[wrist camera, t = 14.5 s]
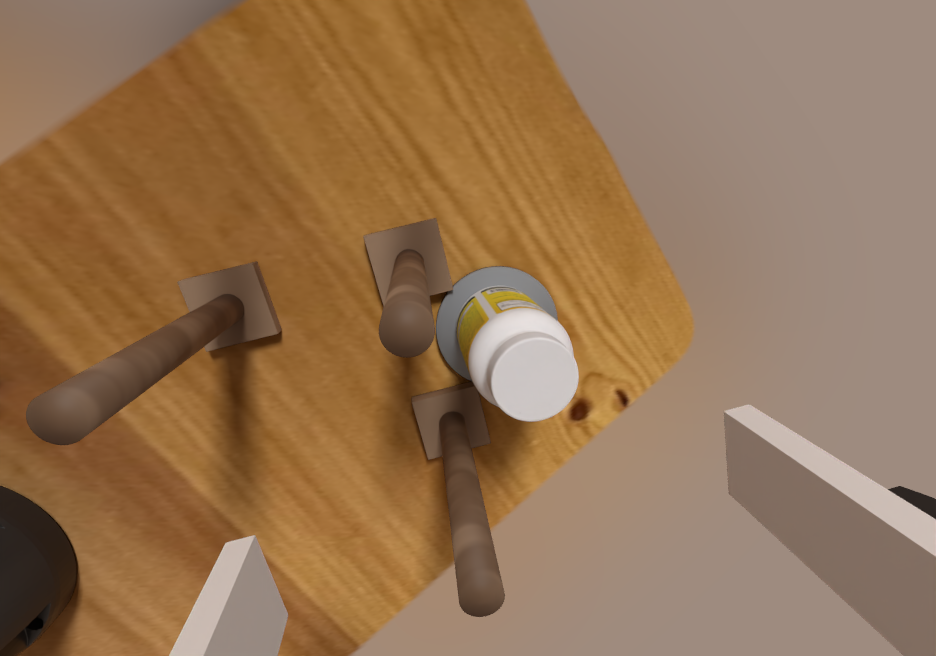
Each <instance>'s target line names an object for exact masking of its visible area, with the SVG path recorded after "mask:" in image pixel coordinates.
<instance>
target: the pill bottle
mask: <svg viewBox="0 0 936 656" xmlns="http://www.w3.org/2000/svg"><path fill="white" fill-rule="evenodd" d="M456 336H457V340H458V344H459V346H460V349H461V352H462V355H463V358H464V360H465V363H466V366H467V368H468V371H469V374H470V376H471V379H472V381H473V383H474V385H475V387H476V388H477V390H478V391H479V393H480V394H481V395H482V396H483V397H484V398H485V399H486V400H488V401H489V402H490V403H492V404H494V405H496V406H497V407H499V408H500V409H501V410H502V411H503V412H505V413H506V414H507V415H509V416H510V417H513V418H515V419H517V420H521V421H528V422H534V421H541V420H544V419H547V418H550V417H552V416H554V415H556V414H557V413H559V412H560V411H561V410H563V409H564V408H565V407H566V406H567V405H568V403H569V402H570V401H571V399H572V398H573V396H574V394H575V392H576V389H577V385H578V378H579V375H578V367H577V363H576V361H575V359H574V355H573V348H572V344H571V341H570V338H569V336H568V334H567V332H566V331H565V329H564V328H563V327H562V325H561V324H560V323H559V322H558V321H557V320H556V319H555V318H553V317H552V316H551V315H550V314H548V313H547V312H546V311H545V310H543V309H542V308H541V307H540V306H539V305H538V304H536V303H535V302H534V301H533V300H532V299H530V298H529V297H528V296H527V295H526V294H524V293H523V292H521V291H519V290H517V289H515V288H512V287H508V286H491V287H487V288H484V289H482V290H480V291H478V292H476V293H475V294H473V295H472V296H471V297H470V298H469V299H468V300H467V301H466V302H465V303H464V305H463V306H462V308H461V310H460V312H459V314H458V317H457V322H456Z"/></svg>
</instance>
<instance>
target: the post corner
mask: <svg viewBox="0 0 936 656" xmlns="http://www.w3.org/2000/svg"><path fill="white" fill-rule="evenodd" d="M363 237H364V240H365V244H366V247H367V251H368V254H369V258H370V261H371V264H372V268H373V271H374V275H375V278H376V282H377V285H378V288H379V292H380V295H381V299H382V302H383V306H384V308H383V312H382V316H381V321H380V325H379V336H380V340H381V342H382V344H383V345H384V347H385V348H386V349H387V350H388V351H389V352H391V353H392V354H394V355H396V356H399V357H414V356H417V355H420V354H422V353H423V352H425V351H426V350H427V349H428V348H429V346H430V345H431V343H432V342H433V339H434V335H435V327H434V320H433V314H432V308H431V302H430V296H431V295H435V294H439V293H443V292H447V291H451V290H453V286H452V282H451V277H450V273H449V269H448V265H447V261H446V257H445V253H444V249H443V245H442V241H441V236H440V232H439V228H438V224H437V220H436V218H433V219H429V220H425V221H421V222H417V223H413V224H409V225H405V226H400V227H396V228H392V229H388V230H384V231H380V232H376V233H372V234H368V235H364V236H363Z"/></svg>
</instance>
